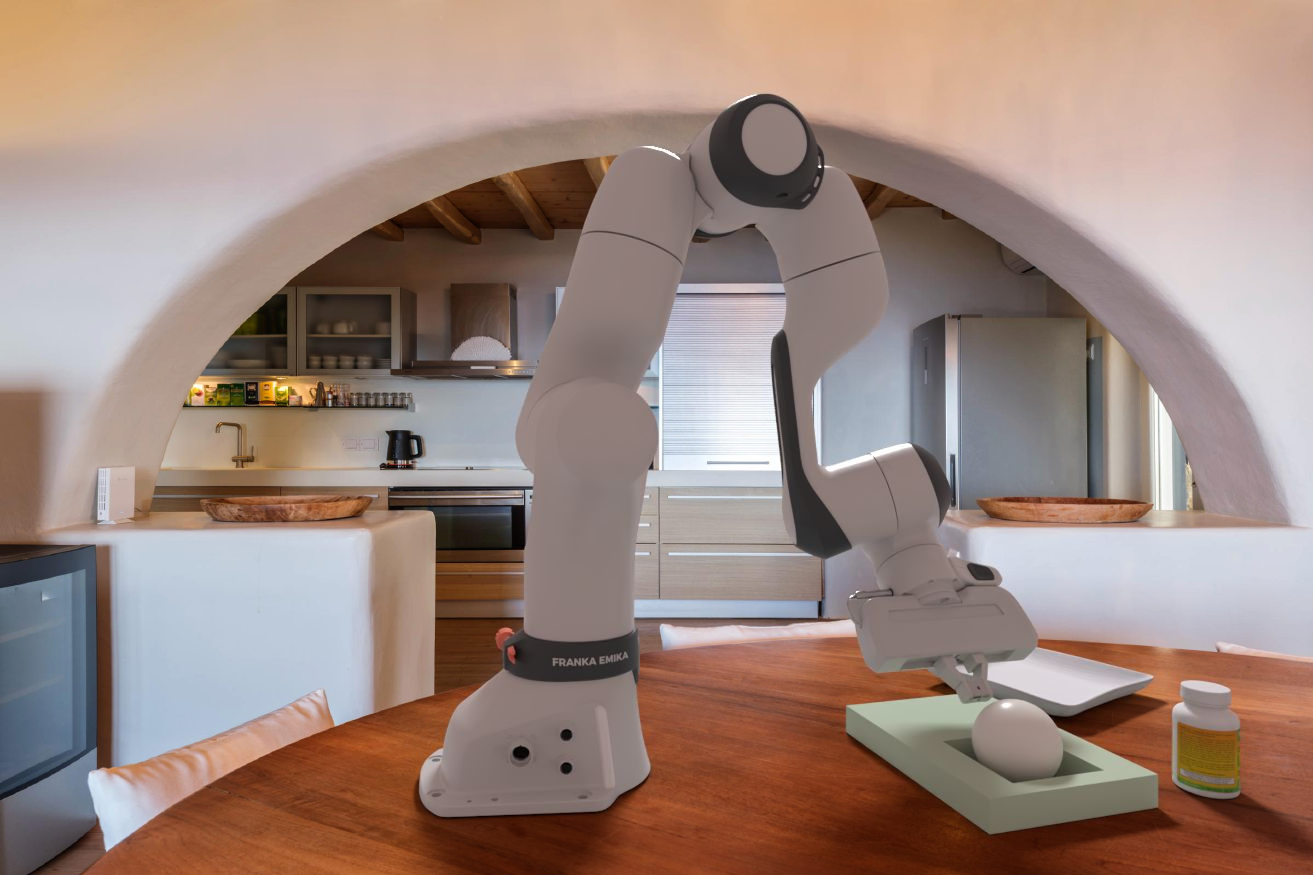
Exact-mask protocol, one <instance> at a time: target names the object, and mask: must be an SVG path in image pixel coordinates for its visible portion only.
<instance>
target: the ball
mask: <svg viewBox="0 0 1313 875" xmlns="http://www.w3.org/2000/svg"><path fill="white" fill-rule="evenodd" d="M1057 727H1058V726H1057V724H1056V723H1055V722H1054V720H1053V719H1052V718H1051V717H1050V716H1049V714H1046V713H1045V712H1044V711H1043V710H1041V709H1040V708H1039V707H1037V706H1035V705H1033V704H1031V703H1029V702H1026V701H1023V700H1018V699H1003V700H999V701H996V702H993V703H991V704H989V705H988V706H986V707H985V708H984V709H983V710H982V711H981V712H980V713H979V715H978V716H977V718H976V720H975V722H974V725H973V729H972V745H973V749H974V752H975V755H976V757H977V759H978V761H979V763H980V764H981V765H983V766H985V767H986V768H988V769H990V770H991V771H993V772H995V773H996V774H998V775H1000V776H1001V777H1003V778H1005V779H1006V780H1008V781H1010V782H1012V783H1018V782H1025V781H1032V780H1039V779H1046V778H1052V777H1053V776H1054V775H1055V773H1056V772H1057V771H1058V769H1059V767H1060V765H1061V761H1062V757H1063V743H1062V738H1061V735H1060V733H1059V730H1058V728H1059V727H1058V728H1057Z"/></svg>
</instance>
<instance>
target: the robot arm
mask: <svg viewBox="0 0 1313 875" xmlns="http://www.w3.org/2000/svg"><path fill="white" fill-rule="evenodd" d="M819 163H820V164H819ZM591 202H592V203H591V205H590V207H589V210H588V213H587V216H586V219H585V221H584V224H583V227H582V230H581V234H580V236H579V239H578V243H577V247H576V250H575V253H574V257H573V260H572V264H571V268H570V270H569V275H568V277H567V281H566V285H565V288H564V291H563V295H562V297H561V301H560V305H559V308H558V310H557V314H556V316H555V319H554V322H553V325H552V327H551V329H550V332H549V334H548V337H547V339H546V342H545V343H544V347H543V350H542V351H541V355H540V357H539V360H538V362H537V365H536V368H535V371H534V374H533V376H532V378H531V381H530V384H529V387H528V390H527V393H526V396H525V398H524V401H523V404H522V407H521V411H520V413H519V416H518V420H517V422H516V427H515V432H514V433H515V435H514V436H515V437H514V438H515V445H516V451H517V453H518V456H519V458H520V460H521V462H522V463H523V466H524V467H525V468H526V469H527V470H528V471H529V472H530V473H531V474H532V475H533V482H532V484H533V485H532V495H531V505H530V515H529V524H528V531H527V538H526V543H525V546H524V550H523V627H522V628H520V629H519V630H517V631H516V632H514V631H513V629H511V628H509V627H503V628H500V629H498V632H497V633H496V634H495V643H496V646H497V647H498V649H500V650H501V651H502V666H503V668H502V670H500V671H499V672H498V673H497V674H495V675H494V676H493V677H491V679H489V680H488V681H486V682H485V683H484V684H482V685H481V687H479V688H478V689H477V690H475V691H474V692H472V694H470V695H469V696H467V697H466V698H465V699H464V700H462V701H461V702H460V703H459V704H458V705H457V707H456V708H455V709H454V711H453V713H452V715H451V718H450V720H449V722H448V725H447V728H446V733H445V736H444V741H443V747H442V748H439V749H437V750H435V751H434V752H433V753H431V754H430V755H429V756H428V757H427V758H426V760H425V761H424V762H423V764H422V766H421V769H420V772H419V773H420V774H419V783H418V794H419V798H420V801H421V802H422V804H423V806H424V807H425V808H426V809H427V810H428V811H430V812H431V813H433V814H434V815H436V816H438V817H443V818H444V817H445V818H452V817H477V816H478V817H479V816H481V817H482V816H485V817H486V816H504V815H505V816H507V815H510V816H511V815H533V814H534V815H535V814H539V815H540V814H561V813H563V814H564V813H585V812H586V813H588V812H589V813H591V812H599V811H600V812H602V811H603V810H606V809H607V808H610V806H612V804H614V802H615V801H616V799H617V798H618V797H619V796H620V795H622V794H624V793H626V792H627V791H629V790H632V789H633V788H635V787H636V786H638V785H639V784H641V783H642V782H643V781H644V780H645V779H647V777H648V776H649V774H650V771H651V762H650V759H649V756H648V752H647V748H646V744H645V740H644V736H643V732H642V724H641V719H640V712H639V711H640V710H639V704H638V692H637V684H638V683H639V674H640V671H641V670H640V669H641V668H640V666H641V662H640V660H641V657H640V656H641V655H640V654H641V647H640V646H641V644H640V637H639V628H637V627H636V626H635V561H636V560H635V559H636V546H637V539H638V538H637V537H638V531H639V525H640V520H641V515H642V510H643V504H644V497H645V492H646V485H647V478H648V473H649V468H650V466H651V465H652V463H653V461H654V459H655V456H656V454H657V451H658V450H657V449H658V444H659V427H658V422H657V419H656V416H655V414H654V412H653V410H652V408H651V406H650V405H649V403H648V402H647V400H645V399H644V397H642V396H641V395H640V394H639V393H638V389H639V388H640V386H641V384H642V381H643V379H644V377H645V376H646V375H645V374H646V372H647V371H648V368H649V367H650V364H651V363H652V360H653V359H654V358H655V355H656V354H657V352H658V351H659V349H660V348H661V346H662V345H663V344H662V343H663V342H664V338H665V336H666V331H667V328H668V324H669V321H670V319H671V314H672V311H673V307H674V303H675V301H676V296H677V293H678V291H679V286H680V283H681V282H680V281H681V278H682V274H683V271H684V267H685V264H686V260H687V256H688V251H689V247H690V243H691V241H692V239H693V237H694V238H699V239H720V238H724V237H727V236H730V235H733V234H735V233H737V232H738V231H739V230H740V229H742V228H744V227H746V226H748V225H753V224H755V225H754V227H755V228H756V229H757V230H758V231H760V233H761V234H762V235H763V236H764V237H765V238H766V241H768V242H769V244H770V247H771V248H772V251H773V252H774V254H775V256H776V261H777V267H778V270H779V274H780V278H781V282H782V283H783V285H782V286H783V290H784V293H785V295H784V296H785V307H786V308H785V313H784V314H785V316H784V322H783V324H782V328H781V329H780V330H779V331H778V332H777V333H776V334H775V335H774V336H773V337H772V340H771V347H770V371H771V372H770V374H771V386H772V397H773V398H772V399H773V407H774V415H775V423H776V433H777V441H778V442H777V445H778V451H779V461H780V470H781V471H780V472H781V483H782V485H781V486H782V497H781V512H782V519H783V523H784V527H785V530H786V532H787V535H788V536H789V538H790V540H791V541H792V543H793V545H794V547H796V548H798V549H799V550H801V551H803V552H804V553H806V554H808V555H811V556H813V557H816V558H820V559H823V560H828V559H830V558H832V557H833V558H834V557H835V556H838V555H841V554H842V553H843V554H844V553H846V552H848V551H850V550H853V548H855V547H860V548H861V551H862V553H863V554H864V556H866V558H867V559H868V560H869V561H870V562H871V564H872V569H873V575H874V579H875V581H876V583H877V586H878V588H879V589H873V590H857V591H855V592H853V594H852V595H850V596H849V597H848V598H847V600H846V605H845V607H846V610H847V612H848V615H849V617H850V620H851V621H852V622H853V624H854V628H855V635H856V637H857V641H858V646H859V649H860V652H861V656H862V658H863V661H864V664H865V665H866V667H868V668H869V669H870V670H871V671H873V672H874V673H876V674H883V673H886V674H887V673H893V672H894V673H895V672H904V671H906V672H908V671H917V670H928V669H930V668H935V670H936V672H937V674H938V676H939V677H940V679H941V680H942V681H943V682H944V683H945V684H946V685H948V686H949V687H950V688H951V689H953V690H954V691H955V692H956V694H957V695H958V697H959V699H960V701H961V702H962V703H963V704H968V703H976V702H987V701H989V700H990V699H991V698H992V697H993V691H992V689H991V687H990V685H989V683H988V681H987V676H988V663H996V662H1008V661H1019V660H1024V659H1025V658H1026V657H1027V656H1028V655H1030V654H1031V653H1032V651H1033V650H1034V649H1035V648H1036V647H1038V644H1039V643H1038V642H1039V635H1038V632H1037V630H1036V628H1035V627H1034V625H1033V623H1032V621H1031V619H1030V618H1029V617H1028V615H1027V613H1026V611H1025V610H1024V608H1023V607H1022V605H1021V604H1020V602H1019V601H1018V600H1017V598H1016V597H1015V596H1014V595H1013V594H1012V593H1011V592H1010V591H1009V590H1007V589H1006V588H1004V587H1001V584H1002V582H1003V576H1002V575H1001V573H1000V571H999V570H998V569H997V568H995V567H993V566H991V565H986V564H981V563H977V562H973V561H970V560H967V559H964V558H961V557H958V556H956V555H952V554H949V552H948V550H947V549H946V547H945V546H944V545H943V544H941V542H940V541H939V540H938V538H937V535H936V529H938V528H940V526H941V525H942V524H943V521H944V519H945V517H946V515H947V512H948V510H949V508H950V505H951V503H952V499H953V498H952V497H953V496H952V489H951V485H950V483H949V480H948V478H947V476H946V474H945V472H944V470H943V468H942V467H941V464H940V463H939V461H938V459H937V458H936V456H935V455H934V454H932V453H931V452H930V451H929V450H927V449H925V448H924V447H922V446H920V445H918V444H917V443H914V442H909V441H908V442H905V443H899V444H895V445H891V446H888V447H885V448H881V449H878V450H874V451H870V452H868V453H866V454H864V455H861V456H857V457H854V458H850V459H847V460H844V461H841V462H837V463H834V464H831V465H826V466H824V465H820V464H819V457H818V450H817V449H818V448H817V440H816V431H815V422H814V413H813V393H814V390H815V388H816V386H817V384H818V382H819V381H820V379H821V378H822V377H823V375H824V374H826V372H827V371H828V370H829V369H830V367H832V366H833V365H834V364H836V363H837V362H838V361H839V360H840V359H842V358H844V356H846V355H847V354H848V353H849V352H851V351H852V350H854V349H855V348H856V347H857V346H859V345H860V344H861V343H862V342H863V341H864V340H866V339H867V338H868V337H869V335H871V333H873V331H875V329H876V328H877V326H878V325H879V324H880V323H881V320H882V319H883V317H884V315H885V313H886V310H887V307H888V304H889V300H890V289H889V281H888V275H887V271H886V266H885V262H884V258H883V255H882V253H881V249H880V246H879V242H878V239H877V236H876V235H877V234H876V232H875V229H874V226H873V224H872V221H871V218H870V216H869V213H868V212H867V209H866V207H865V204H864V202H863V201H862V198H861V196H860V194H859V192H858V190H857V188H856V186H855V184H854V182H853V180H852V179H851V177H850V176H849V175H848V174H847V173H846V172H845V171H844V170H841V168H838V167H835V166H830V165H826V164H825V154H824V151H823V149H822V147H820V145H819V144H818V142H817V139H816V136H815V134H814V131H813V129H812V128H811V125H810V124H809V122H808V121H807V119H806V118H805V116H804V115H803V114H802V113H801V111H800V110H799V109H798V108H797V107H796V106H795V105H794V104H792V102H790V101H789V100H788V99H786V98H784V97H782V96H779V95H776V94H774V93H773V94H771V93H758V94H753V95H750V96H746V97H744V98H742V99H739V100H738V101H735V102H733V103H732V104H730V105H728V107H725V109H723V110H722V112H721V113H720V114H719V115H718V116H717V118H716V119H714V120H713V121H712V122H711V123H709V124H708V125H707V126H706V127H704V128H703V129H702V130H700V131H699V133H698V134H696V136H694V138H693V139H692V140H691V142H689V144H687V146H686V147H685V148H684V149H683V150H682V152H681V153H674V152H673V153H672V152H670V151H669V150H666V149H662V148H660V147H655V146H648V145H647V146H646V145H645V146H644V145H642V146H635V147H631V148H628V149H626V150H623V151H622V152H621V153H619V154H618V155H617V156H616V157H615V158H614V159H613V161H612V162H611V163H610V166H609V167H608V169H607V171H606V173H605V175H604V176H603V178H602V181H601V182H600V185H599V187H598V189H597V191H596V193H595V196H594V198H593V199H592V201H591ZM963 665H964V667H965V669H966V670H967V672H968V673H973V680H971V681H968V680H967V679H966V678H965V677H964V676H963V675H962V674H961V673H960V672H959V671H958V670H957V669H956V668H955V667H956V666H963ZM939 677H938V678H939Z"/></svg>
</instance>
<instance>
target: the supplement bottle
mask: <svg viewBox="0 0 1313 875" xmlns="http://www.w3.org/2000/svg"><path fill="white" fill-rule="evenodd" d="M1179 689H1180V691H1179V695H1180V698H1181V699H1182V700H1183V701H1182V702H1178V703H1177V704H1175V705H1174V706H1173V708H1172V710H1171V711H1172V712H1171V778H1172V782H1173V783H1174V784H1175V785H1176V786H1178V788H1181V789H1183V790H1184V791H1187V792H1189V793H1192V794H1194V795H1198V796H1201V797H1205V798H1210V799H1217V800H1228V799H1234V798H1237V797H1239V795H1240V794H1241V721H1240V720H1241V719H1240V717H1238V715H1237V714H1236V713H1235V712H1234V711H1232V710H1231V709H1229V707H1231V706H1232V690H1231V689H1230V688H1229V687H1226V686H1225V685H1222V684H1218V683H1215V682H1210V681H1205V680H1196V679H1195V680H1190V679H1189V680H1183V681H1181V682H1180V688H1179Z"/></svg>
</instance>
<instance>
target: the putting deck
mask: <svg viewBox="0 0 1313 875" xmlns="http://www.w3.org/2000/svg"><path fill="white" fill-rule="evenodd" d="M996 701H999V700H997V699H995V698H993V697H992V698H991V699H990V700H989V701H987V702H976V703H968V704H963V703H962V702H961V701H960V699H959V697H958V695H957V693H956V694H946V695H944V694H943V695H935V696H925V697H916V698H906V699H898V700H887V701H886V700H885V701H878V702H868V703H858V704H848V705H847V704H846V705H845V732H846V733H847V734H848V735H850V737H853V738H854V739H855V740H857V741H858V742H859V743H861V744H862V745H864V746H865V747H866V748H867V749H869V750H871V752H873V753H874V754H876V755H878V756H879V757H881V758H882V759H883V760H884V761H886V762H888V763H889V764H890V765H891V766H893V767H895V768H896V769H898V770H899V771H900V772H901V773H903V774H904V775H905V776H907V777H909V778H910V779H911V780H913V781H914V782H916V783H917V784H919V785H920V786H921V787H922V788H924V789H925V790H926V791H927V792H929V793H930V794H932V795H933V796H935V797H936V798H938V799H940V800H941V801H942V802H943V803H945V804H946V805H948V806H949V807H951V808H952V809H953V810H955V811H956V812H957V813H958V814H960V815H962V816H963V817H964V818H965V819H968V820H969V821H970V822H971V823H973V824H974V825H976V826H977V827H979V828H980V829H981V830H983V831H984V832H986V834H988V835H995V834H996V835H997V834H1002V833H1007V832H1014V831H1020V830H1025V829H1026V830H1027V829H1033V828H1038V827H1039V828H1040V827H1046V826H1051V825H1052V826H1053V825H1057V824H1063V823H1070V822H1075V821H1084V820H1088V819H1089V820H1090V819H1094V818H1095V819H1096V818H1101V817H1106V816H1107V817H1108V816H1113V815H1119V814H1126V813H1132V812H1140V811H1144V810H1151V809H1157V808H1159V773H1156V772H1154V771H1153V770H1150V769H1148V768H1145V767H1143V766H1142V765H1139V764H1138V763H1135V762H1132V761H1130V760H1128V759H1127V758H1123V757H1122V756H1120V755H1119V754H1116V753H1113V752H1111V751H1109V750H1106V749H1104V748H1103V747H1100V746H1098V745H1096V744H1094V743H1092V742H1090V741H1087V740H1085V739H1083V738H1081V737H1079V736H1077V735H1074V734H1072V733H1070V732H1068V731H1066V730H1064V729H1062V728H1059V727H1058V726H1057V728H1058V730H1059V733H1060V735H1061V738H1062V743H1063V757H1062V761H1061V765H1060V767H1059V769H1058V771H1057V772H1056V773H1055V775H1054V776H1053V777H1052V778H1046V779H1039V780H1032V781H1025V782H1018V783H1012V782H1010V781H1008V780H1006V779H1005V778H1003V777H1001V776H1000V775H998V774H996V773H995V772H993V771H991V770H990V769H988V768H986V767H985V766H983V765H981V764H980V763H979V761H978V759H977V757H976V755H975V752H974V749H973V745H972V729H973V725H974V722H975V720H976V718H977V716H978V715H979V713H980V712H981V711H982V710H983V709H984V708H985V707H986V706H988V705H989V704H991V703H993V702H996Z"/></svg>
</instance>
